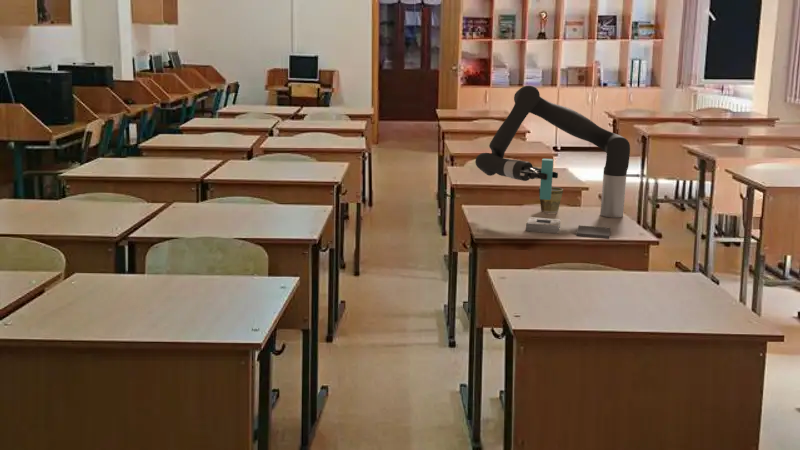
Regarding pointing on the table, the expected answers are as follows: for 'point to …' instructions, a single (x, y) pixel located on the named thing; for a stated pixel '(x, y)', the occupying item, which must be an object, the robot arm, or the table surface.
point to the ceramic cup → (552, 201)
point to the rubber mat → (593, 231)
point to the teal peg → (547, 184)
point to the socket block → (543, 225)
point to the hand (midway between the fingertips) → (551, 176)
